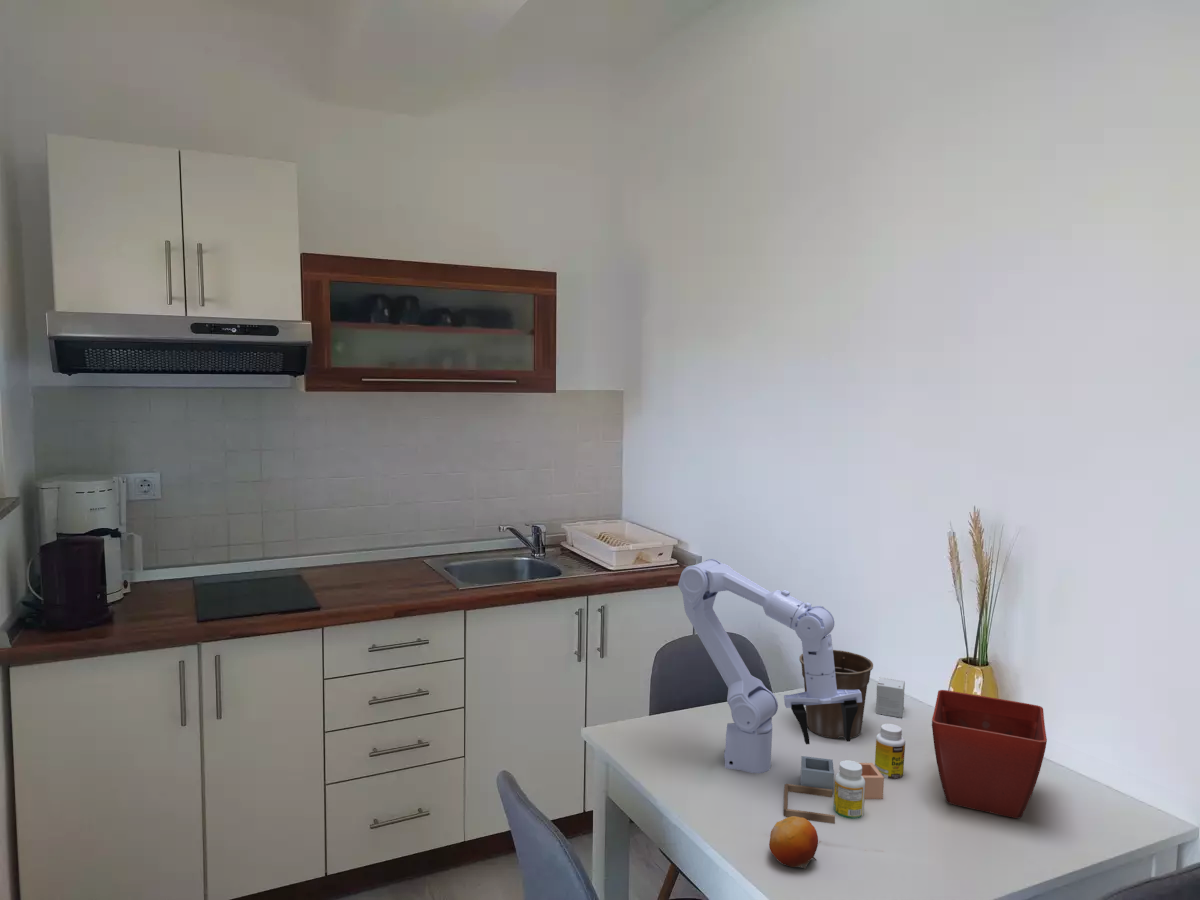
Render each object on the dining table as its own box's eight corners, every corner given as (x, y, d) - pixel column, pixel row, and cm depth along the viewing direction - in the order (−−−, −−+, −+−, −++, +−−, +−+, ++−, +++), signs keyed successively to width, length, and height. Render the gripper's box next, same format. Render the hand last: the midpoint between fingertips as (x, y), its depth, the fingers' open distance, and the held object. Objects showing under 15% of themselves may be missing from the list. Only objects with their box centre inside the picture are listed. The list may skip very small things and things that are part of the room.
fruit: (820, 874, 131) (797, 825, 133) (778, 884, 135) (756, 836, 137) (835, 850, 138) (812, 804, 140) (794, 860, 142) (773, 815, 144)
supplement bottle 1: (856, 826, 149) (858, 775, 148) (828, 815, 152) (830, 765, 151) (868, 814, 153) (870, 764, 152) (840, 804, 156) (843, 755, 155)
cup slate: (800, 794, 160) (801, 769, 159) (800, 779, 165) (801, 755, 165) (832, 798, 158) (834, 773, 158) (831, 783, 164) (832, 759, 164)
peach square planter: (851, 802, 157) (852, 777, 156) (841, 787, 163) (842, 762, 162) (882, 802, 157) (884, 777, 157) (871, 787, 163) (872, 762, 163)
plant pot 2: (934, 765, 173) (938, 687, 171) (1037, 787, 165) (1043, 705, 163) (926, 807, 156) (931, 721, 154) (1040, 833, 147) (1047, 742, 146)
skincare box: (903, 709, 202) (905, 680, 202) (901, 718, 197) (903, 688, 196) (877, 705, 205) (879, 676, 204) (875, 713, 199) (876, 684, 199)
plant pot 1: (785, 731, 188) (788, 662, 187) (811, 708, 202) (814, 644, 200) (856, 750, 179) (860, 678, 178) (878, 725, 192) (882, 658, 191)
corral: (783, 820, 150) (784, 810, 150) (784, 793, 160) (784, 783, 160) (834, 827, 148) (835, 816, 148) (831, 799, 158) (832, 789, 158)
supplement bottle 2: (891, 785, 164) (894, 735, 163) (868, 774, 169) (870, 725, 168) (909, 778, 167) (911, 729, 166) (886, 767, 172) (888, 719, 171)
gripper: (784, 680, 157) (792, 751, 157) (862, 674, 156) (870, 745, 156) (780, 669, 164) (787, 738, 164) (854, 664, 163) (861, 732, 163)
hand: (827, 741), depth 160 cm, fingers open, 7 cm apart
